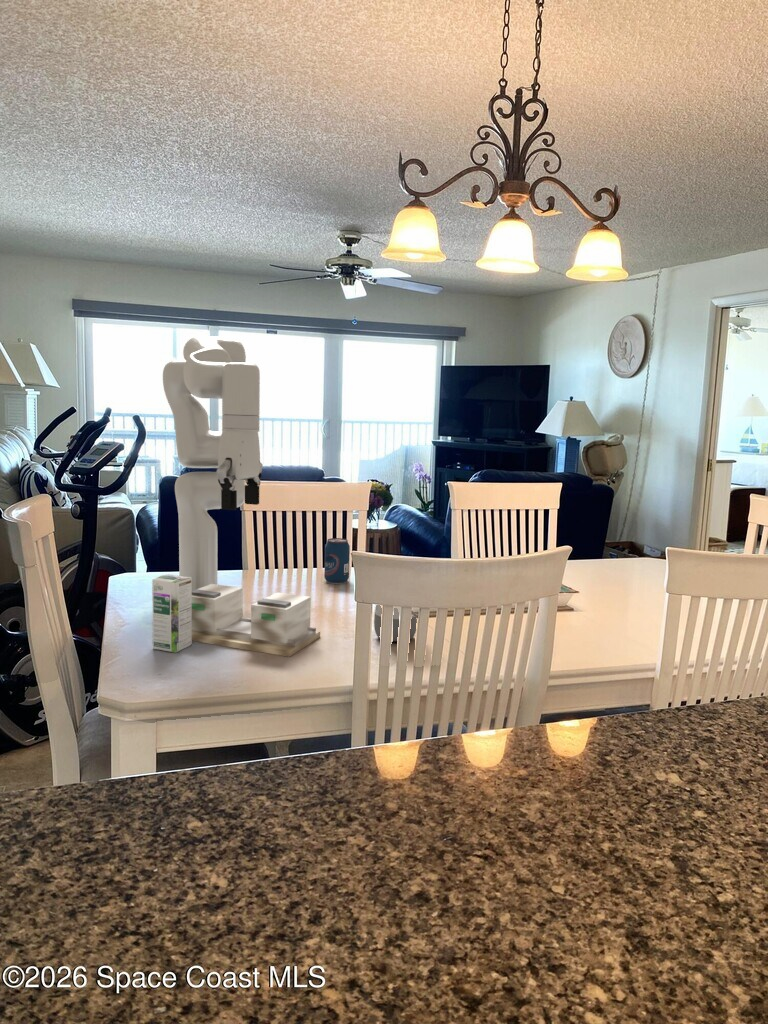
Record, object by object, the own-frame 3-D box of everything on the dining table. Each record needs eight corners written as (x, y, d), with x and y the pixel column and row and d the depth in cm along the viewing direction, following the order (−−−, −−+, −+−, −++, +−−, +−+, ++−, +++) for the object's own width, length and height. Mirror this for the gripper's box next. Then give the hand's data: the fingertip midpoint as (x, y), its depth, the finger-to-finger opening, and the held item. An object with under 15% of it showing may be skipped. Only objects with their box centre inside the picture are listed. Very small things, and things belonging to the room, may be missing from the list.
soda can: (319, 581, 207) (320, 539, 206) (334, 577, 213) (335, 536, 211) (338, 585, 203) (339, 543, 202) (353, 581, 209) (354, 539, 207)
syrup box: (151, 649, 147) (150, 578, 145) (169, 641, 153) (168, 572, 151) (175, 653, 146) (174, 582, 143) (193, 644, 151) (192, 575, 149)
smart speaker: (422, 644, 156) (425, 579, 154) (380, 646, 153) (382, 581, 151) (408, 630, 165) (410, 569, 163) (368, 633, 162) (370, 571, 160)
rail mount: (171, 637, 155) (170, 593, 154) (208, 620, 168) (208, 579, 167) (289, 656, 146) (290, 609, 144) (320, 636, 159) (321, 593, 157)
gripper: (244, 423, 160) (244, 501, 163) (202, 424, 144) (202, 510, 146) (276, 424, 158) (275, 503, 160) (236, 425, 142) (236, 513, 144)
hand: (240, 506), depth 153 cm, fingers open, 9 cm apart
